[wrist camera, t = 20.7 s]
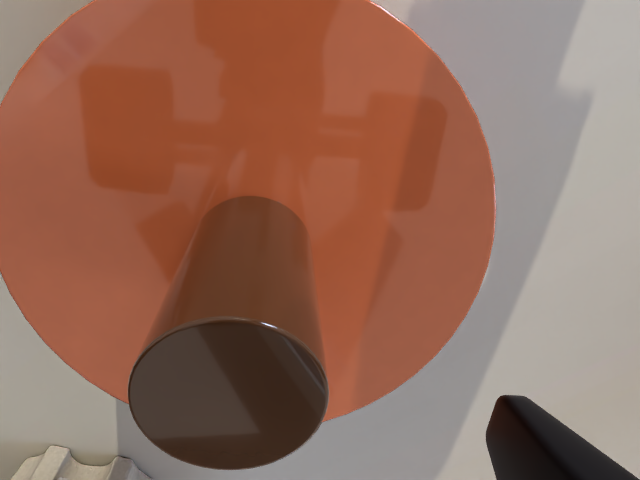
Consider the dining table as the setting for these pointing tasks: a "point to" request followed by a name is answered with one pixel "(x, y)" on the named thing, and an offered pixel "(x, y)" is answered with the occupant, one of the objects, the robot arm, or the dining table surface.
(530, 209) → the dining table surface
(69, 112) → the lid
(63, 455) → the egg carton
